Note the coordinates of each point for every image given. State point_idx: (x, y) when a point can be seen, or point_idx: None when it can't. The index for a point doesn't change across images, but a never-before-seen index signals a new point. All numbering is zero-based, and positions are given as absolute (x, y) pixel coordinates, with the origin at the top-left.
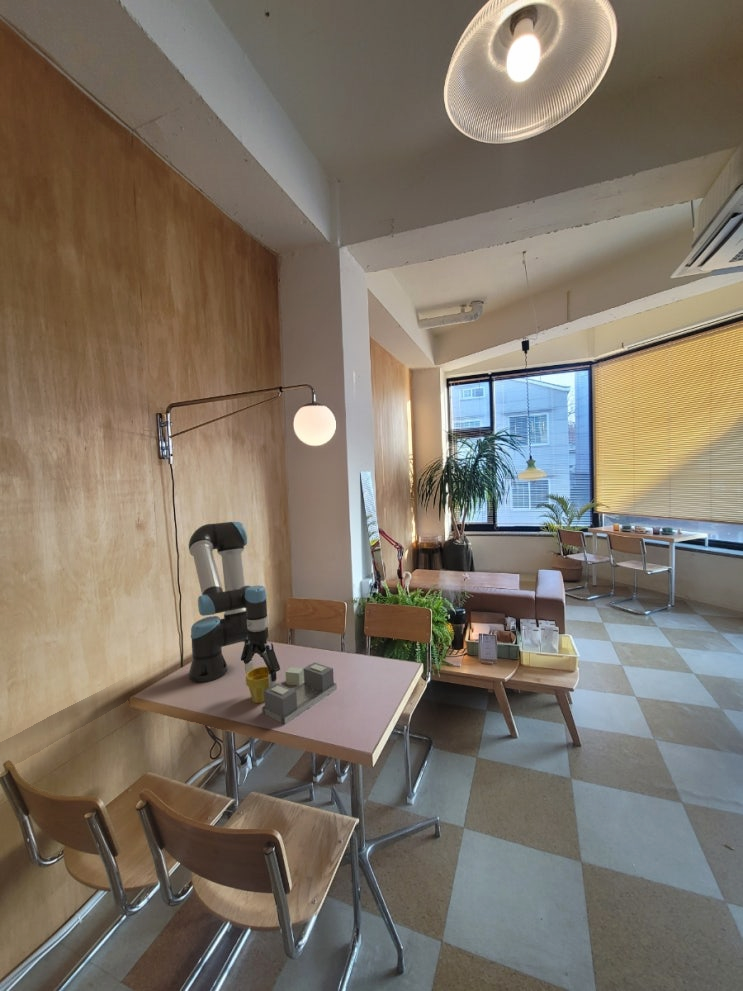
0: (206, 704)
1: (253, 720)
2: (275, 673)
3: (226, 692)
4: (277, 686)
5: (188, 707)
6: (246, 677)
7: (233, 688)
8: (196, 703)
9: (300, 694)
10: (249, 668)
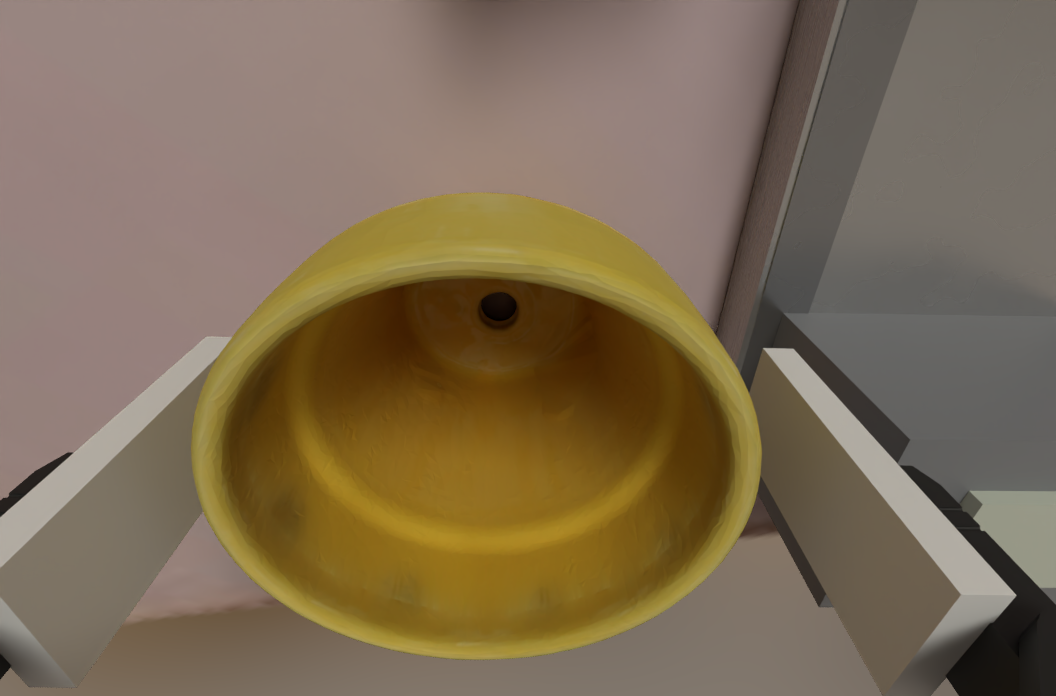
0: (204, 547)
1: None
2: (1032, 606)
3: (107, 398)
4: (994, 519)
5: (157, 605)
6: (411, 653)
7: (62, 324)
8: None
9: (1038, 74)
10: (134, 533)
